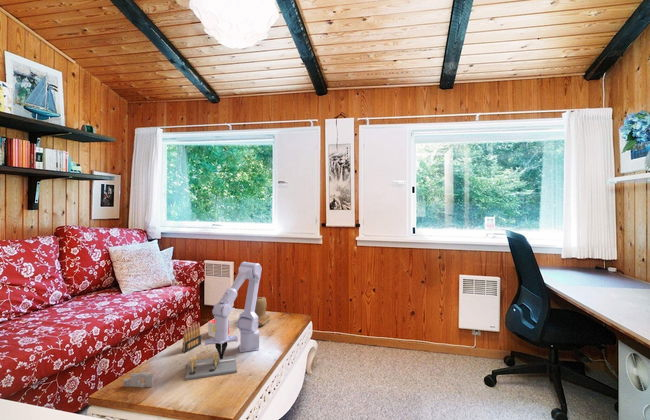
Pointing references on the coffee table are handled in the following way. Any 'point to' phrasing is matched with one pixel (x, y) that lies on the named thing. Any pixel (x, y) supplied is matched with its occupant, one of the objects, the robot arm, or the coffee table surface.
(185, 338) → the ammunition clip
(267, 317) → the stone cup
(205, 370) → the pitch plate
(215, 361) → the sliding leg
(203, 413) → the coffee table surface
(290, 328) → the coffee table surface
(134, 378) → the garden wall model
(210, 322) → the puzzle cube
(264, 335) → the coffee table surface
